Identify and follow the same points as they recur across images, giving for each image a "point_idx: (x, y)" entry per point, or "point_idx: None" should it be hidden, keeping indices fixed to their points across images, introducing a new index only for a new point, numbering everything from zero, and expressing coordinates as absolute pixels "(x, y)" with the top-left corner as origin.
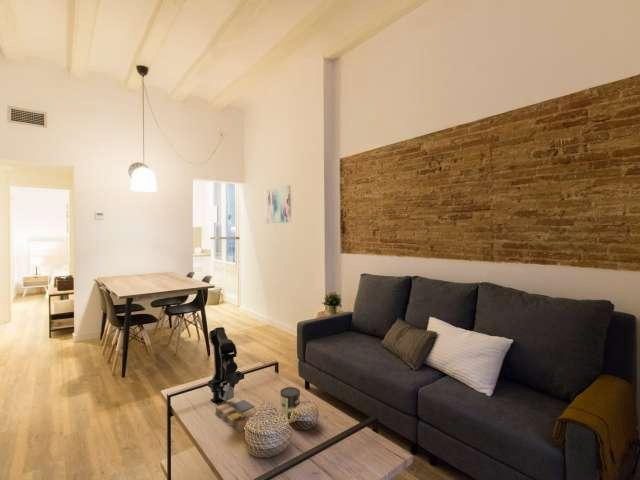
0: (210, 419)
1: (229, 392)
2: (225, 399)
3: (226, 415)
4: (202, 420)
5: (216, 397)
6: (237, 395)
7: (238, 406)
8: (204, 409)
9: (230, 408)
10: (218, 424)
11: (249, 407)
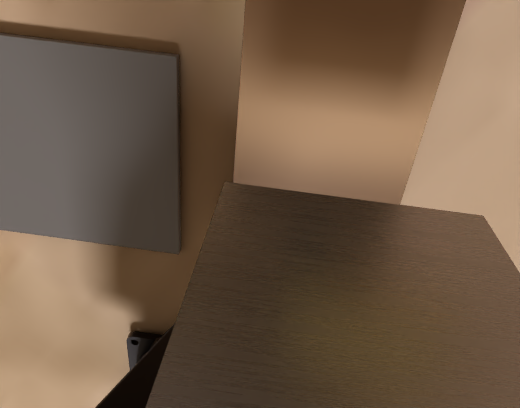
0: None
1: (395, 358)
2: (498, 241)
3: (443, 47)
4: (512, 261)
5: None
6: (11, 316)
7: (101, 174)
8: None
9: (278, 139)
10: (511, 68)
11: (2, 52)
